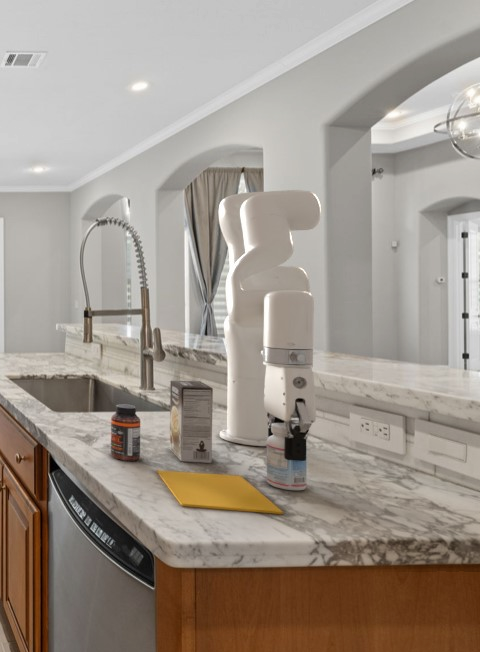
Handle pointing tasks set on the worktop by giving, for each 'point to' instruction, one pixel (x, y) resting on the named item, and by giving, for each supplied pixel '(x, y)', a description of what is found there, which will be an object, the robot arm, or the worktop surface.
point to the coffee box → (191, 421)
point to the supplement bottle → (125, 433)
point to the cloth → (216, 492)
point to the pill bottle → (283, 462)
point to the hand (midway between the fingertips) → (286, 453)
